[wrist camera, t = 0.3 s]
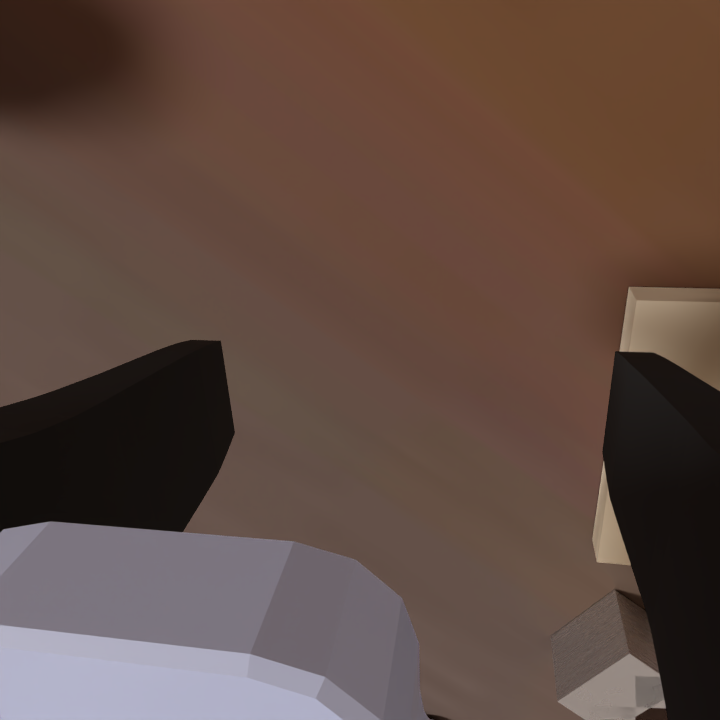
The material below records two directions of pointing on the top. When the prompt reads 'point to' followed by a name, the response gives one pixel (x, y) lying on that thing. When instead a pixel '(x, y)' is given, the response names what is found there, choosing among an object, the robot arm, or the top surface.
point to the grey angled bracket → (607, 662)
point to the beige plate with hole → (674, 342)
